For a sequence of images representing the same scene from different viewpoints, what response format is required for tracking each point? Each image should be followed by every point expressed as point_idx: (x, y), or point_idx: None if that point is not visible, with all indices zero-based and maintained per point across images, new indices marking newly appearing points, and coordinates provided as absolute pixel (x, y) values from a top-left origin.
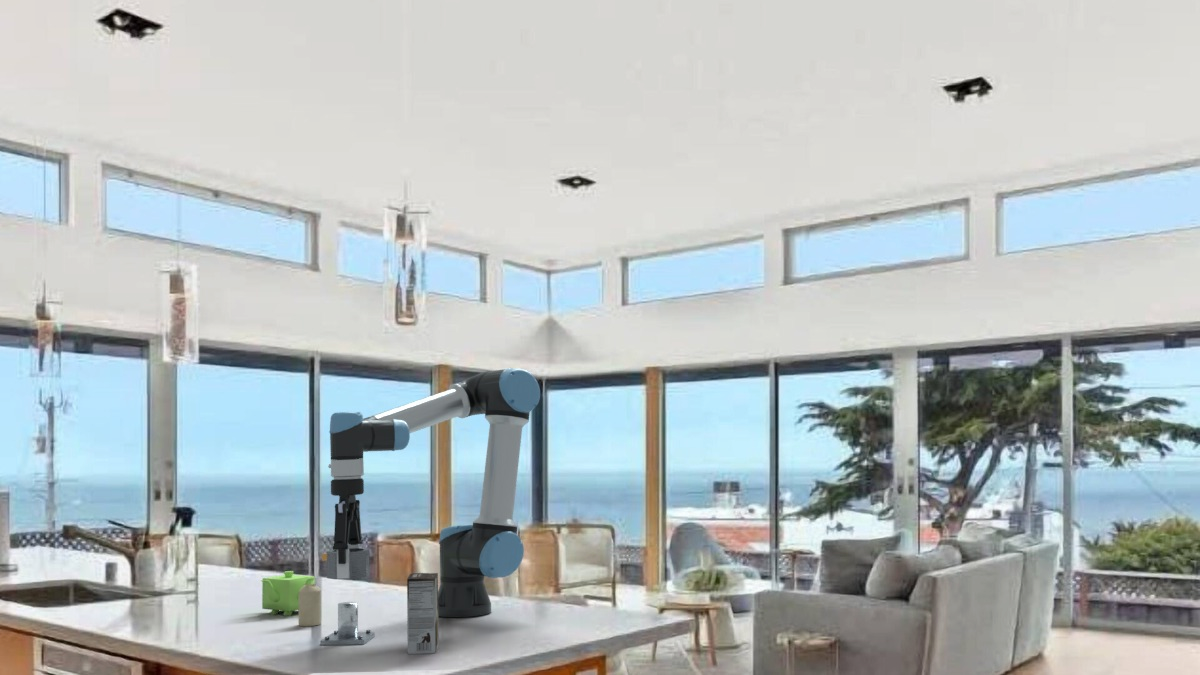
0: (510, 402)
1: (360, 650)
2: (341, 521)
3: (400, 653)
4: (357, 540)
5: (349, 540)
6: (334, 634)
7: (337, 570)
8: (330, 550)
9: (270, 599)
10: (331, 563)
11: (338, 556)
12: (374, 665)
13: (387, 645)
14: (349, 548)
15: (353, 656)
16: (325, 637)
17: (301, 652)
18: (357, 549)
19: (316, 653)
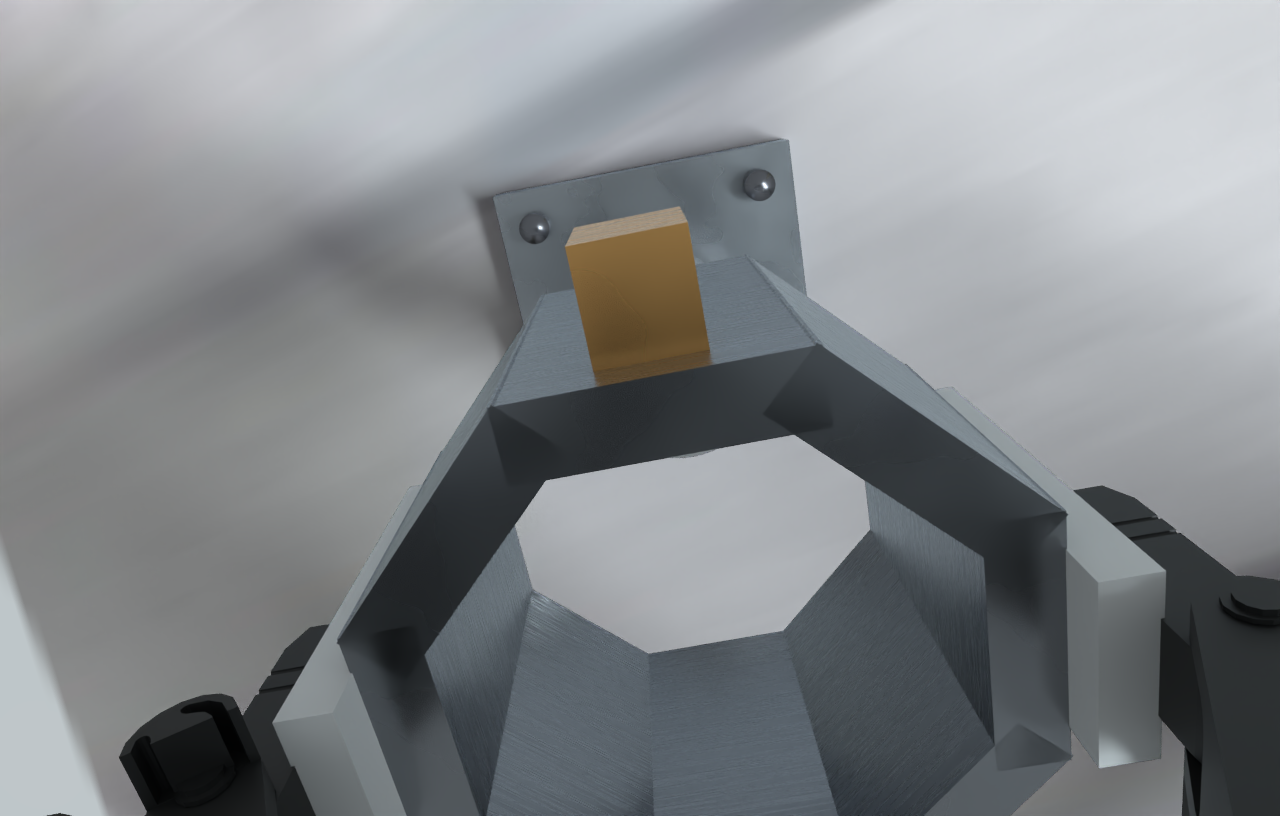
0: None
1: (389, 506)
2: None
3: None
4: (1190, 805)
5: (1197, 669)
6: (727, 186)
7: (385, 539)
8: (734, 368)
9: None
10: (448, 453)
11: (249, 706)
12: (65, 713)
13: (547, 585)
14: (1032, 600)
15: (229, 538)
16: (520, 222)
17: (255, 182)
18: (987, 723)
19: (251, 296)
